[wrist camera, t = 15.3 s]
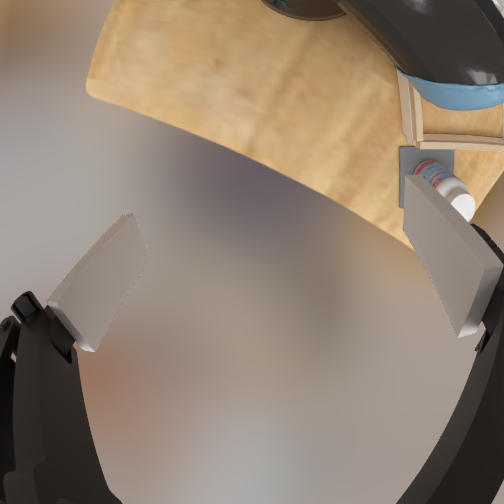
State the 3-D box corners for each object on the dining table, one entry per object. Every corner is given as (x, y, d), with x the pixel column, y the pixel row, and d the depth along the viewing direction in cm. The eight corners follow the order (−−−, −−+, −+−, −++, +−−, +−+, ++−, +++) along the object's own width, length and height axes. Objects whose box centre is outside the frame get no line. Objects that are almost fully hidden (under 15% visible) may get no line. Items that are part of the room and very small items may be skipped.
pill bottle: (423, 152, 34) (460, 178, 25) (449, 172, 35) (486, 202, 26) (404, 183, 37) (435, 218, 28) (431, 201, 38) (462, 238, 29)
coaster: (398, 146, 35) (400, 147, 34) (452, 146, 33) (454, 147, 32) (398, 206, 40) (400, 208, 40) (448, 203, 38) (450, 204, 38)
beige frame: (394, 60, 28) (408, 58, 24) (504, 77, 23) (522, 81, 19) (403, 141, 34) (416, 150, 30) (506, 145, 30) (522, 154, 26)
